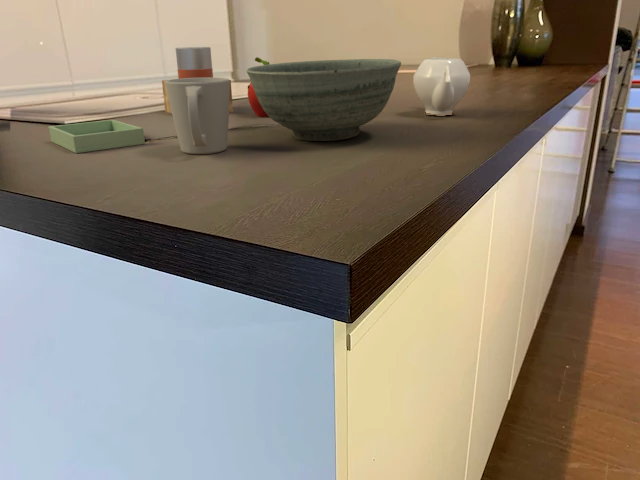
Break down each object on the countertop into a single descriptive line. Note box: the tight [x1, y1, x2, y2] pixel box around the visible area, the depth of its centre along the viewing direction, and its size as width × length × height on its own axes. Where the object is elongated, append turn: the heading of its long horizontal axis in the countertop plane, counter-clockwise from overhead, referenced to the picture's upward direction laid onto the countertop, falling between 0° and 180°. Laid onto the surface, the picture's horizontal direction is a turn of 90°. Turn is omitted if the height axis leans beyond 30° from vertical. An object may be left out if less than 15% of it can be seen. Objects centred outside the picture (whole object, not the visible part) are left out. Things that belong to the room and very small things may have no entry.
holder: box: [161, 79, 234, 114], centre depth 97 cm, size 9×9×6 cm
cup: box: [165, 77, 231, 155], centre depth 65 cm, size 8×10×8 cm
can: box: [175, 46, 214, 79], centre depth 96 cm, size 6×6×11 cm
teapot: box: [412, 56, 472, 114], centre depth 92 cm, size 10×20×9 cm, turn 174°
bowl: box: [245, 58, 402, 142], centre depth 74 cm, size 21×21×10 cm
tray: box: [48, 119, 146, 154], centre depth 73 cm, size 11×9×2 cm
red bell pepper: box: [247, 56, 270, 118], centre depth 91 cm, size 8×7×10 cm
